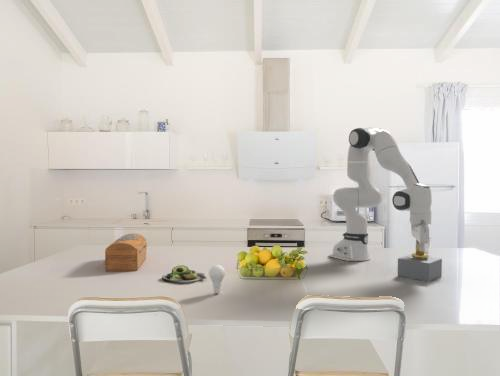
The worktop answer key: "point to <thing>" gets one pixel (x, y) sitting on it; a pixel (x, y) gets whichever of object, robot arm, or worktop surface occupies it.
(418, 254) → the brass knob plunger
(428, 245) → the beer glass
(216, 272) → the lightbulb
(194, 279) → the salad plate
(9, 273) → the worktop surface
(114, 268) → the wooden box
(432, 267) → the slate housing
